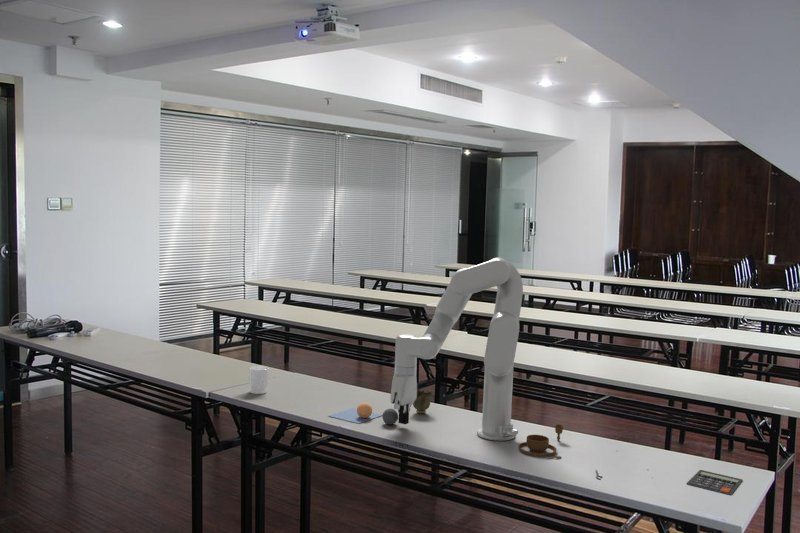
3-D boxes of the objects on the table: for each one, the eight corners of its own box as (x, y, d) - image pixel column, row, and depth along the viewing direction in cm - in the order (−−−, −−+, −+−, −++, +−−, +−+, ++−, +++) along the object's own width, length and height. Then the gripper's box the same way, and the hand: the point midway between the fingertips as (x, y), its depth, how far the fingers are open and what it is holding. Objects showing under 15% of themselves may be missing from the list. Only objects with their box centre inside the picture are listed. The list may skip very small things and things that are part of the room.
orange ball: (369, 397, 249) (358, 403, 252) (361, 404, 245) (351, 410, 247) (377, 410, 249) (367, 416, 252) (370, 417, 244) (360, 423, 247)
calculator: (686, 482, 194) (700, 469, 206) (686, 486, 194) (699, 472, 206) (731, 493, 187) (742, 478, 199) (730, 497, 187) (742, 482, 199)
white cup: (246, 390, 282) (247, 366, 281) (265, 389, 285) (266, 365, 285) (251, 395, 275) (251, 370, 274) (270, 393, 278) (271, 369, 277)
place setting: (506, 445, 225) (507, 427, 225) (558, 440, 232) (559, 423, 232) (535, 463, 209) (536, 444, 209) (590, 457, 216) (591, 439, 216)
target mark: (382, 415, 252) (382, 415, 252) (358, 423, 241) (358, 423, 241) (352, 408, 260) (352, 408, 260) (328, 416, 249) (328, 415, 249)
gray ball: (387, 404, 244) (383, 418, 246) (382, 409, 239) (378, 423, 240) (401, 409, 243) (398, 423, 244) (396, 414, 238) (393, 429, 239)
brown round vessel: (407, 414, 256) (408, 392, 255) (416, 409, 262) (417, 388, 262) (425, 417, 252) (426, 395, 252) (434, 412, 259) (435, 391, 258)
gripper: (408, 365, 246) (406, 416, 247) (383, 372, 234) (381, 425, 235) (426, 369, 242) (424, 420, 243) (402, 375, 229) (400, 430, 230)
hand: (403, 423), depth 239 cm, fingers closed
